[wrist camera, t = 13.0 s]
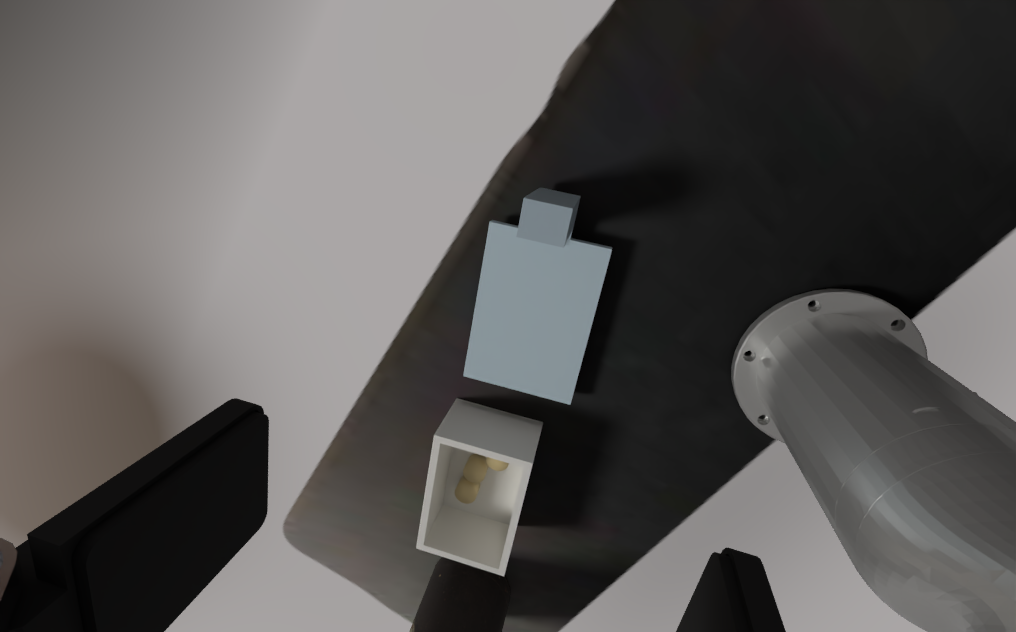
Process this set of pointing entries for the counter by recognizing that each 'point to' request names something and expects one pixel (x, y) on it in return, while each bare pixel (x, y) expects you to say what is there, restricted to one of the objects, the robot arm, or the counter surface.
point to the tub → (477, 485)
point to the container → (462, 600)
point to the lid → (536, 300)
